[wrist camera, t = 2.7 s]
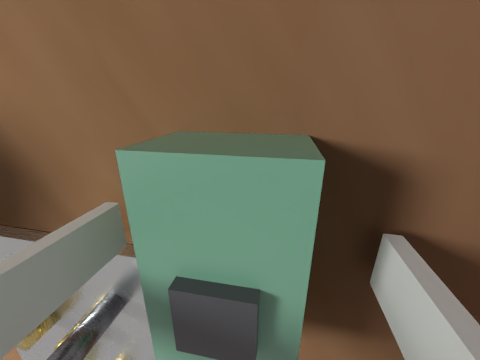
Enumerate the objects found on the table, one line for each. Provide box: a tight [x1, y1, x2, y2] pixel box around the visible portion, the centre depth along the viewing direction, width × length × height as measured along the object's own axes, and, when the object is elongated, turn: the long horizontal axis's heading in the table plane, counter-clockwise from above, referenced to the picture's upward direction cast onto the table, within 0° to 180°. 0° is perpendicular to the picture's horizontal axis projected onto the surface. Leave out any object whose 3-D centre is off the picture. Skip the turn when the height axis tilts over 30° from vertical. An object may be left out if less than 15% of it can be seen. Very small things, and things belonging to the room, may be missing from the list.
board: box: [115, 131, 325, 360], centre depth 10 cm, size 10×6×5 cm, turn 0°
